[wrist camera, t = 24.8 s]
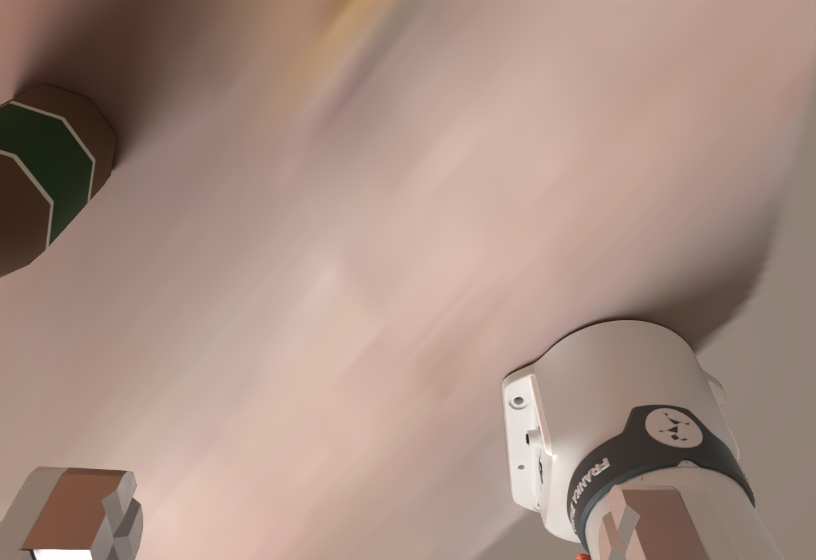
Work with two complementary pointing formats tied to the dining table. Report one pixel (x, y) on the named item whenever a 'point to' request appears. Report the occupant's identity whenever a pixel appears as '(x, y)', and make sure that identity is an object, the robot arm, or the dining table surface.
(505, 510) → the dining table surface
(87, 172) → the beer bottle
